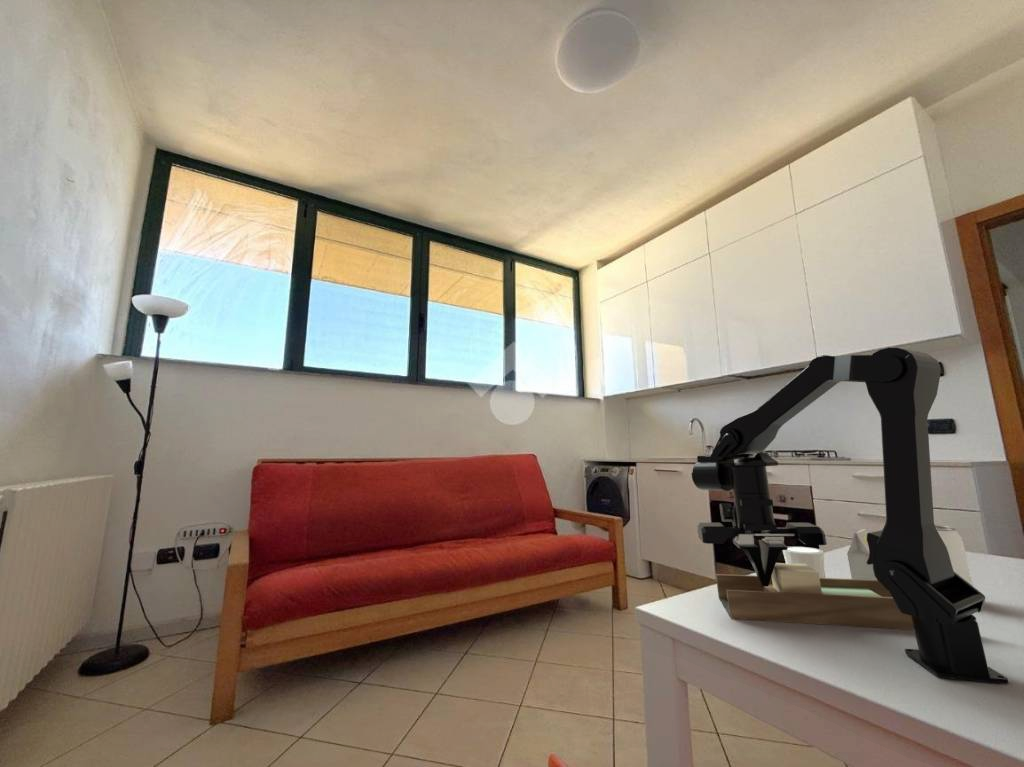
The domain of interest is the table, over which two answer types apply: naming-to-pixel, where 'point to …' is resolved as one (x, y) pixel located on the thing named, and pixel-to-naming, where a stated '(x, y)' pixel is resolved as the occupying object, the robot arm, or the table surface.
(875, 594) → the tray
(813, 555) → the white cup
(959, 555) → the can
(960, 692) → the table surface
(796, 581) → the maple block
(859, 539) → the white gable top carton
